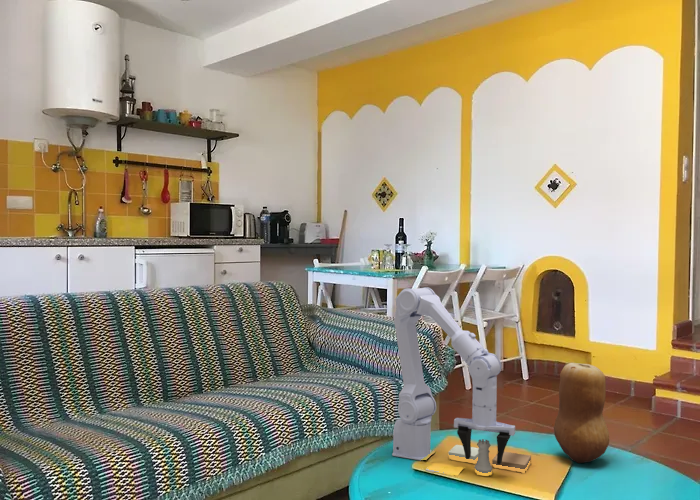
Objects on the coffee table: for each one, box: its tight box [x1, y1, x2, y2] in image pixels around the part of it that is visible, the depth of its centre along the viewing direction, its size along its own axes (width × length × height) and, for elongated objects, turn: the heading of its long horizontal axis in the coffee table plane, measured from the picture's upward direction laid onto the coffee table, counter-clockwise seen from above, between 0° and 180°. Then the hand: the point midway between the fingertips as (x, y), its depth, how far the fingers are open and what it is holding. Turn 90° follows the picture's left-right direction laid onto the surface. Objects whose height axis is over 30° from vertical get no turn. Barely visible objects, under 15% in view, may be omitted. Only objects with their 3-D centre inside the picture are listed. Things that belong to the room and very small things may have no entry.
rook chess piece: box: [474, 438, 494, 473], centre depth 149 cm, size 4×4×8 cm
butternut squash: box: [553, 362, 610, 464], centre depth 160 cm, size 14×13×25 cm
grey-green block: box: [447, 444, 479, 460], centre depth 160 cm, size 7×7×2 cm
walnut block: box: [491, 451, 532, 469], centre depth 155 cm, size 8×8×2 cm
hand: (483, 460), depth 149 cm, fingers open, 7 cm apart
